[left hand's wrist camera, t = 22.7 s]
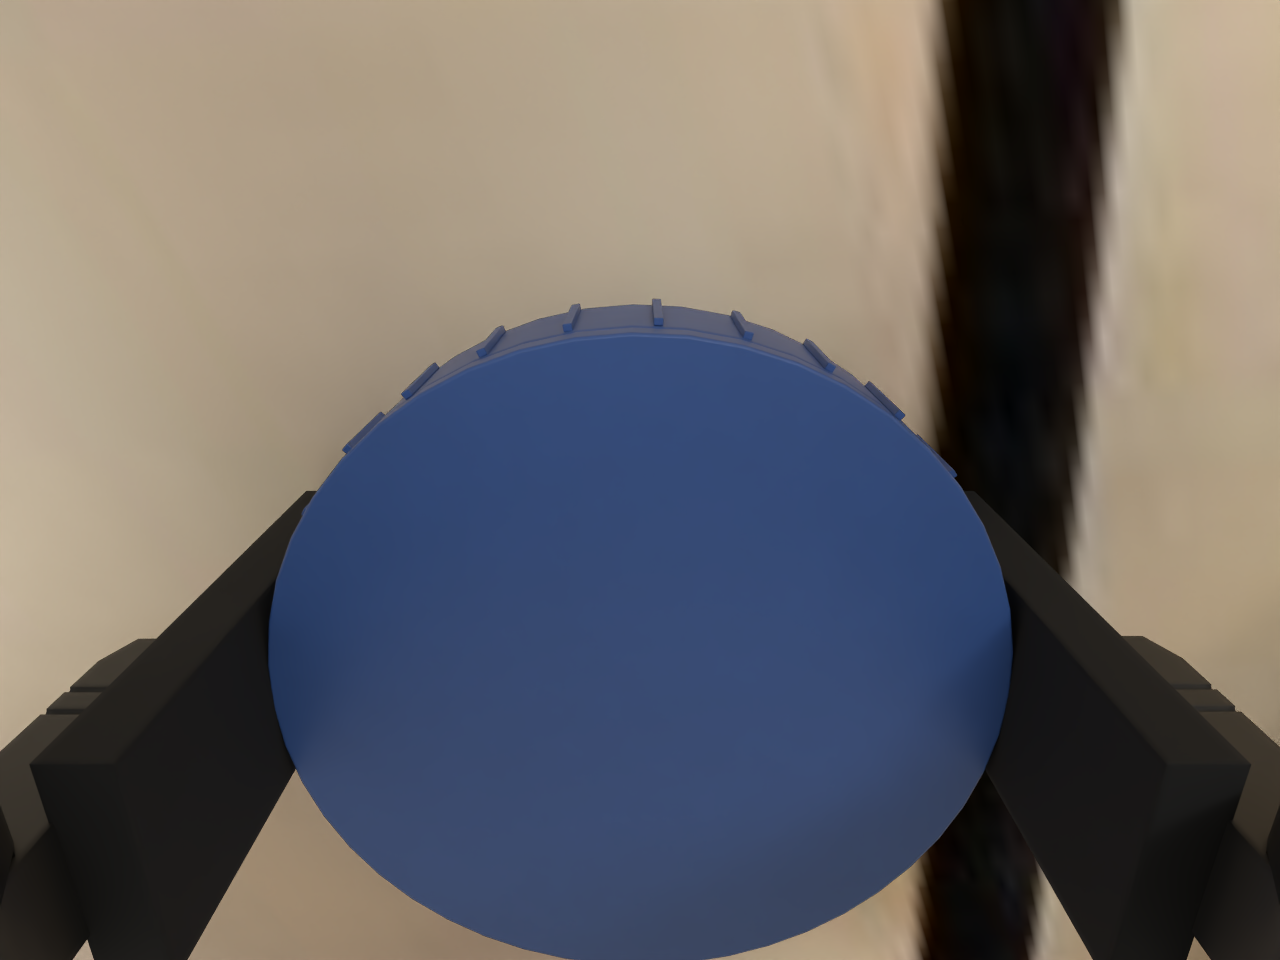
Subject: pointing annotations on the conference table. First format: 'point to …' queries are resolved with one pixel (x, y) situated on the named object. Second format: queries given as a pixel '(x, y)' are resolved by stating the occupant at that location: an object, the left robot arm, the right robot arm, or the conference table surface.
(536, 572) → the lid
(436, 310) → the conference table surface
